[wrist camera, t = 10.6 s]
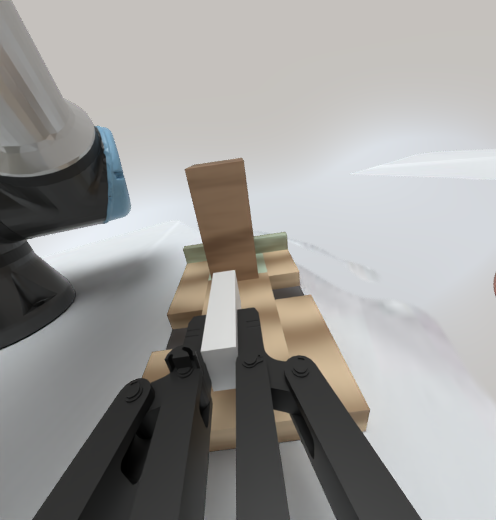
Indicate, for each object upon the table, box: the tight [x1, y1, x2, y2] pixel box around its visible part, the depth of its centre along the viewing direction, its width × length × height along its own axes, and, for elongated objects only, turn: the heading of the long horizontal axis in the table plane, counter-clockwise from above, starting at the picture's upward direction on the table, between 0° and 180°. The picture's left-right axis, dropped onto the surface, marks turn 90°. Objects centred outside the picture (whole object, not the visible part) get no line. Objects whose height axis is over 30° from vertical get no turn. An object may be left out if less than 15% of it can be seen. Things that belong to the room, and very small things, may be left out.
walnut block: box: [185, 158, 259, 281], centre depth 28 cm, size 6×6×14 cm
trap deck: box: [142, 232, 370, 452], centre depth 25 cm, size 25×16×5 cm, turn 4°
